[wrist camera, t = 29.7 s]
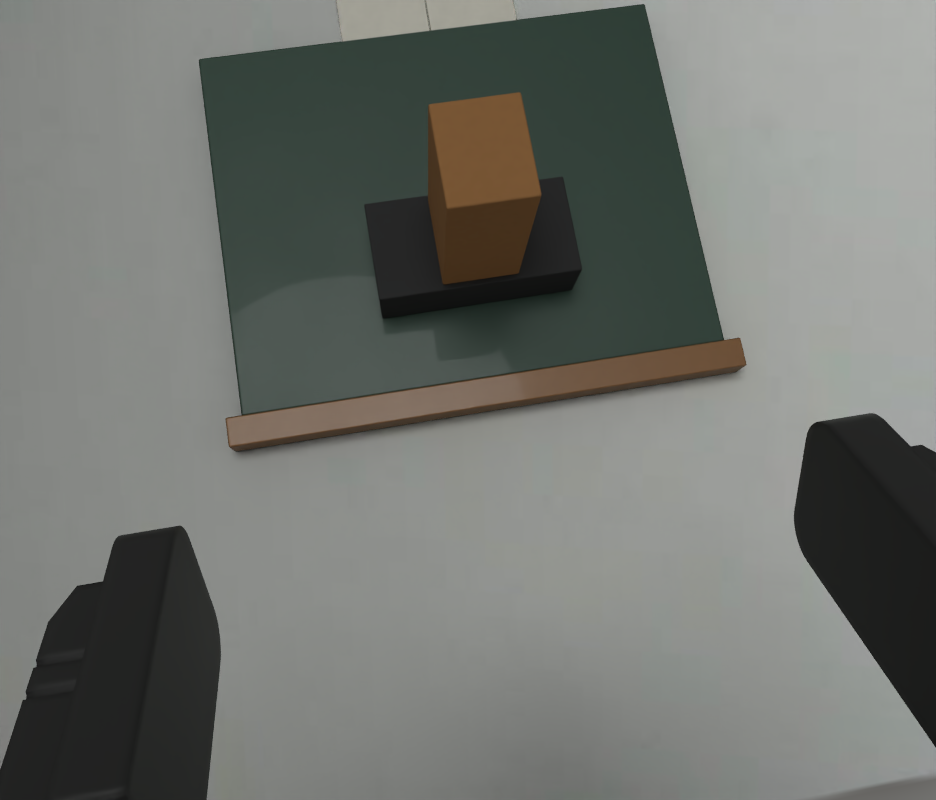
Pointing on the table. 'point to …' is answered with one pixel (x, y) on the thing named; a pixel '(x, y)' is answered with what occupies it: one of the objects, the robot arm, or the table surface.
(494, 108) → the eraser
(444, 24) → the smudge
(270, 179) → the chalkboard
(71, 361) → the table surface
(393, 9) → the smudge
